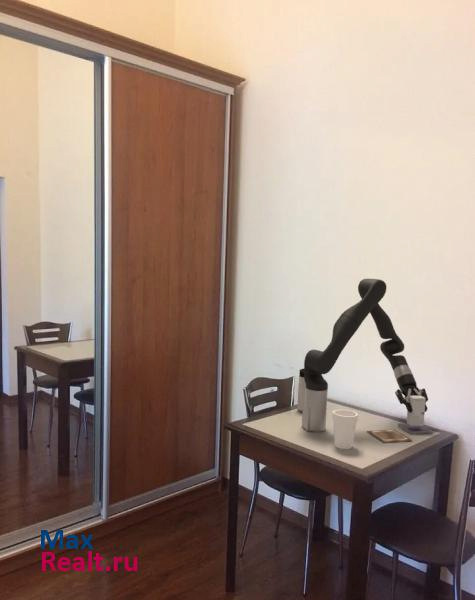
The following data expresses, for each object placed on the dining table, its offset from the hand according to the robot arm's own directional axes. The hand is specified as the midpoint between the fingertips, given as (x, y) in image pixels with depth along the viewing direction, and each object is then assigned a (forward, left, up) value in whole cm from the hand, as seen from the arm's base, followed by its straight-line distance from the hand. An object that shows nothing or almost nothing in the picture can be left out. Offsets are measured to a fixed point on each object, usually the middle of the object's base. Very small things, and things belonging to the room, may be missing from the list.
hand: (418, 411), depth 217 cm
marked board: (-16, -4, -9) cm, 19 cm away
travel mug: (-38, +34, -9) cm, 51 cm away
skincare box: (0, +2, -6) cm, 7 cm away
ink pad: (0, +2, -9) cm, 9 cm away
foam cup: (-40, -11, -9) cm, 43 cm away
